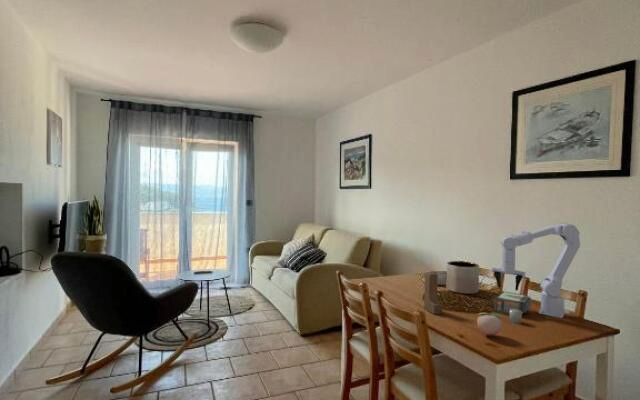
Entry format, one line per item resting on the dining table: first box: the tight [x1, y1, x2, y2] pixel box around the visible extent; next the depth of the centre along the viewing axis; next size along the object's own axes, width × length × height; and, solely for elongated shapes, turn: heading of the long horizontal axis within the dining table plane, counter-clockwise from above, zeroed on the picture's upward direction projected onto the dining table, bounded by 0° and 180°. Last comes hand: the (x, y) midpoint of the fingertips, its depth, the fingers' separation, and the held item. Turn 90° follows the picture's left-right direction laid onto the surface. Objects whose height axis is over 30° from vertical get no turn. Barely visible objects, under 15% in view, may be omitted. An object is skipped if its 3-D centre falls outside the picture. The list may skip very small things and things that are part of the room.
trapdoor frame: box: [493, 290, 528, 316], centre depth 172 cm, size 11×15×7 cm
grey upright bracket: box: [423, 271, 443, 315], centre depth 170 cm, size 9×4×18 cm, turn 14°
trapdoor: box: [497, 291, 532, 313], centre depth 171 cm, size 12×12×5 cm
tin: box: [430, 270, 447, 286], centre depth 219 cm, size 15×3×8 cm, turn 84°
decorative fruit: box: [476, 310, 504, 337], centre depth 141 cm, size 9×8×10 cm
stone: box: [508, 309, 523, 325], centre depth 158 cm, size 5×5×5 cm
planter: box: [445, 260, 480, 295], centre depth 207 cm, size 18×18×16 cm
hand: (507, 288), depth 174 cm, fingers open, 7 cm apart
